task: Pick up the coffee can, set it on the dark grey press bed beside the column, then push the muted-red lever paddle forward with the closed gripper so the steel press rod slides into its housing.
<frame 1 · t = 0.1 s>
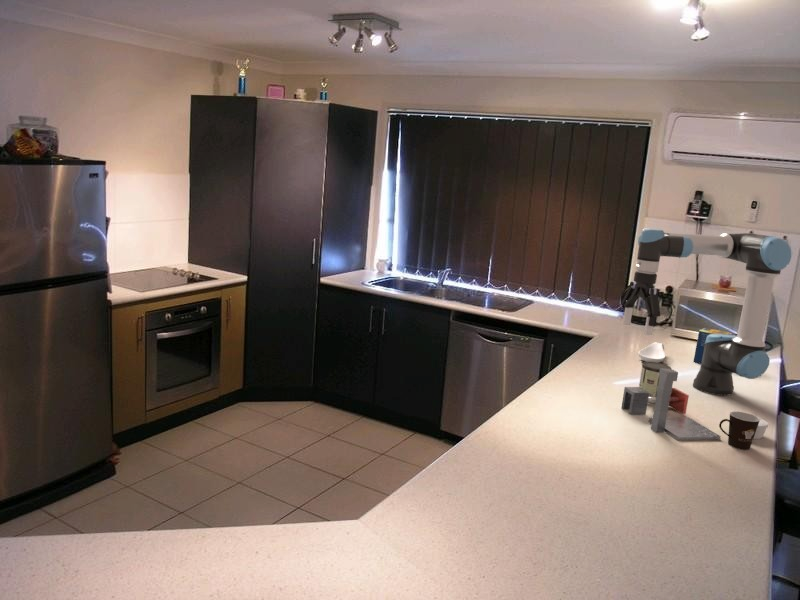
hand: (636, 329, 241), 28 cm above the worktop, fingers open, 13 cm apart
press: (672, 423, 228), on the worktop
coffee mug: (733, 445, 214), on the worktop
protein box: (712, 364, 312), on the worktop
coffee can: (650, 401, 250), on the worktop
spoon rest: (653, 359, 312), on the worktop
ramekin: (746, 434, 224), on the worktop
lever: (657, 400, 238), point 4 cm above the worktop, slide at 0.0 cm
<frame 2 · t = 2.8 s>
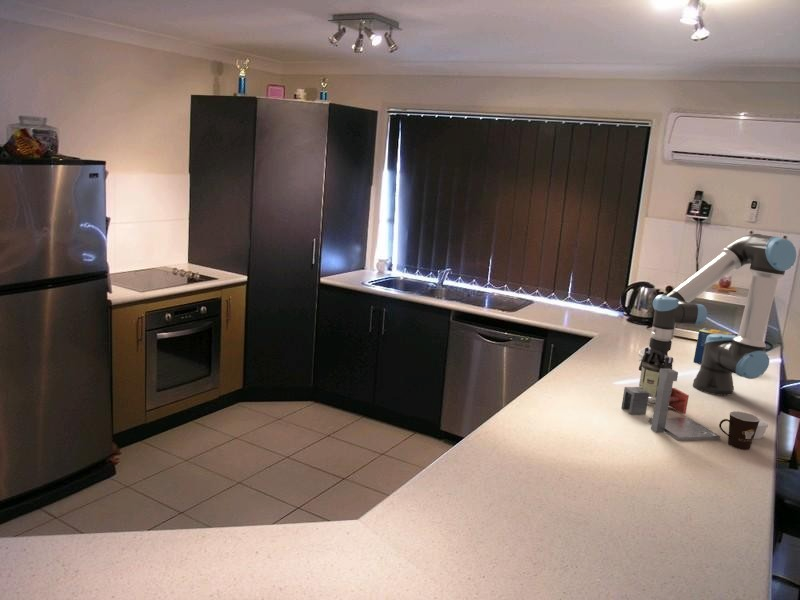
hand: (651, 395, 249), 2 cm above the worktop, fingers closed on coffee can, 10 cm apart
coffee can: (650, 401, 250), on the worktop, touching gripper
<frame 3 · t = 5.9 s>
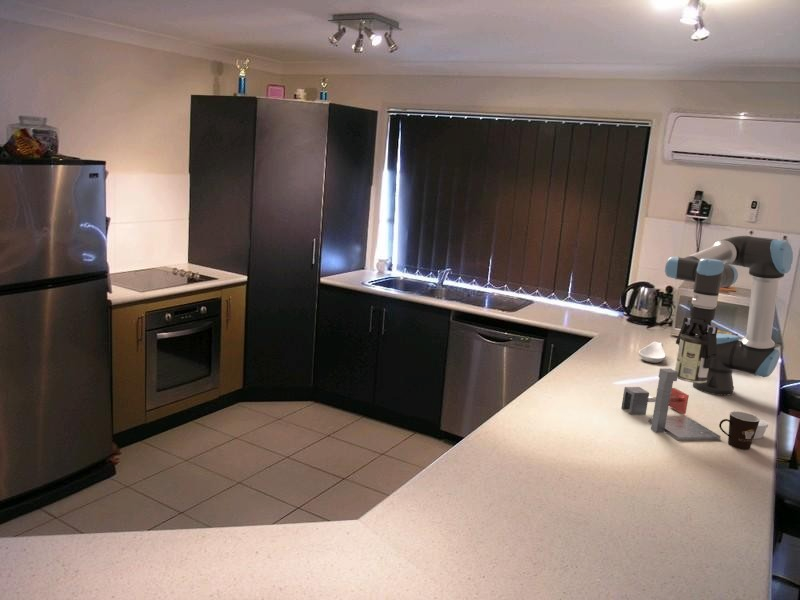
hand: (691, 371, 220), 20 cm above the worktop, fingers closed on coffee can, 10 cm apart
coffee can: (689, 379, 220), point 18 cm above the worktop, touching gripper
when the fingers open (5 cm above the worktop, at t = 9.4 s): coffee can drops 1 cm, resting on press.
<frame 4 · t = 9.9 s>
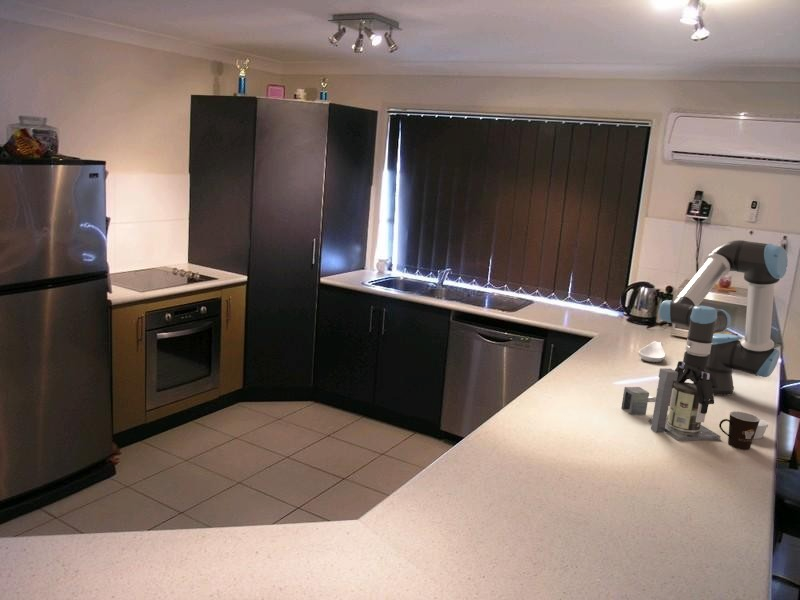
hand: (686, 414, 222), 6 cm above the worktop, fingers open, 13 cm apart
coffee can: (683, 427, 223), point 1 cm above the worktop, touching press
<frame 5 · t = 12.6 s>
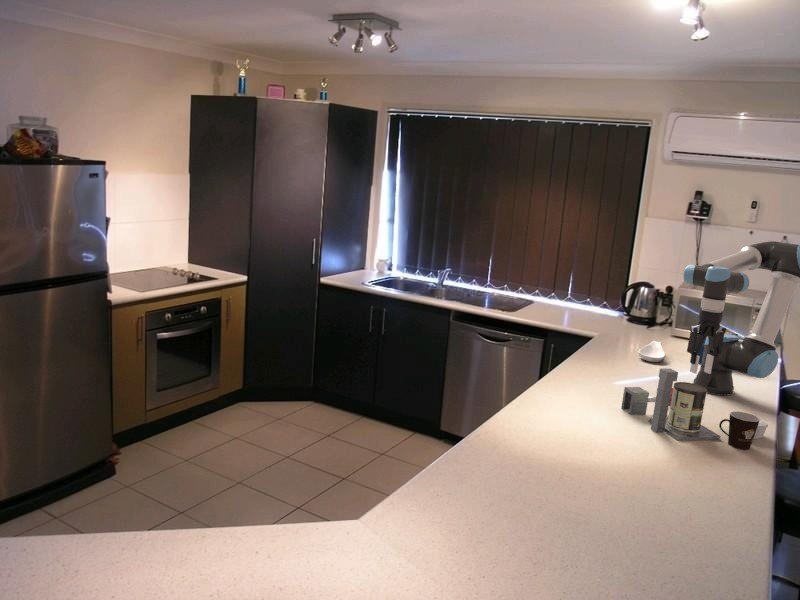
hand: (700, 372, 240), 15 cm above the worktop, fingers open, 5 cm apart
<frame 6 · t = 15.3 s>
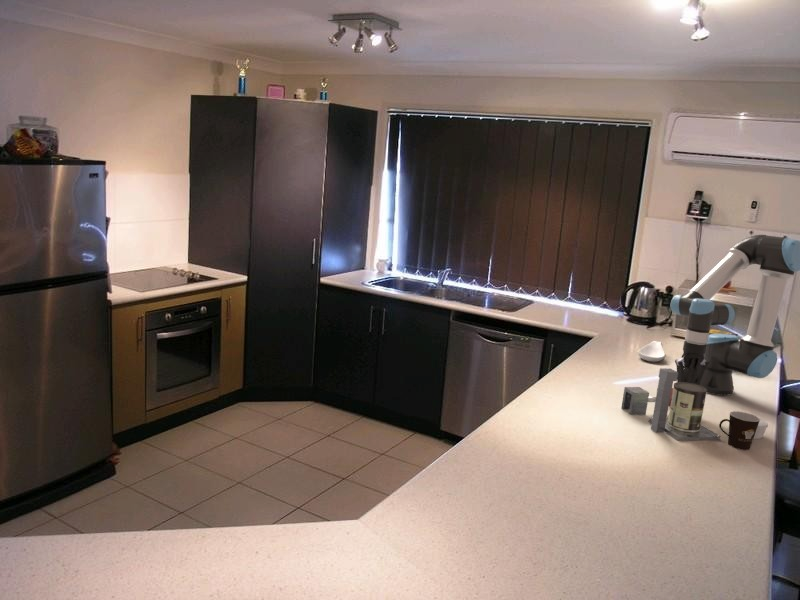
hand: (684, 404, 241), 3 cm above the worktop, fingers closed
lever: (656, 400, 238), point 4 cm above the worktop, slide at 0.3 cm, touching gripper
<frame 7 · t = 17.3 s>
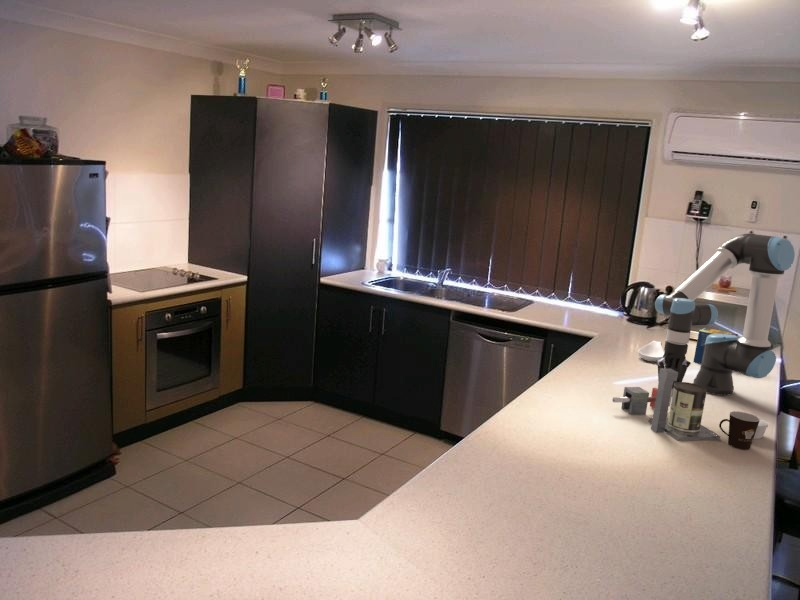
hand: (665, 404, 239), 2 cm above the worktop, fingers closed
lever: (637, 401, 236), point 4 cm above the worktop, slide at 8.1 cm, touching gripper
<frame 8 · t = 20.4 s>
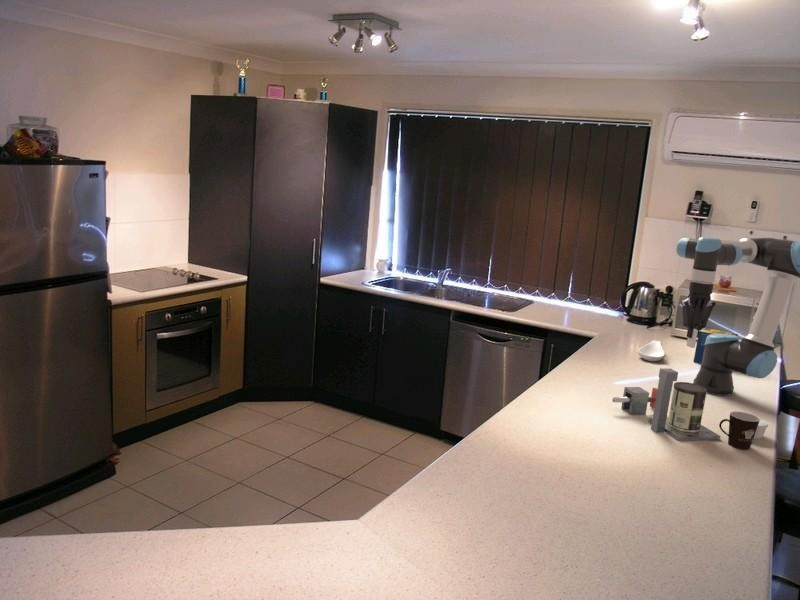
hand: (690, 346, 237), 24 cm above the worktop, fingers closed
lever: (637, 401, 236), point 4 cm above the worktop, slide at 8.1 cm
at the end: coffee can inside the target area (0.2 cm from its centre), point 1.0 cm above the worktop; coffee can tilted 0°; lever slide at 8.1 cm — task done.
